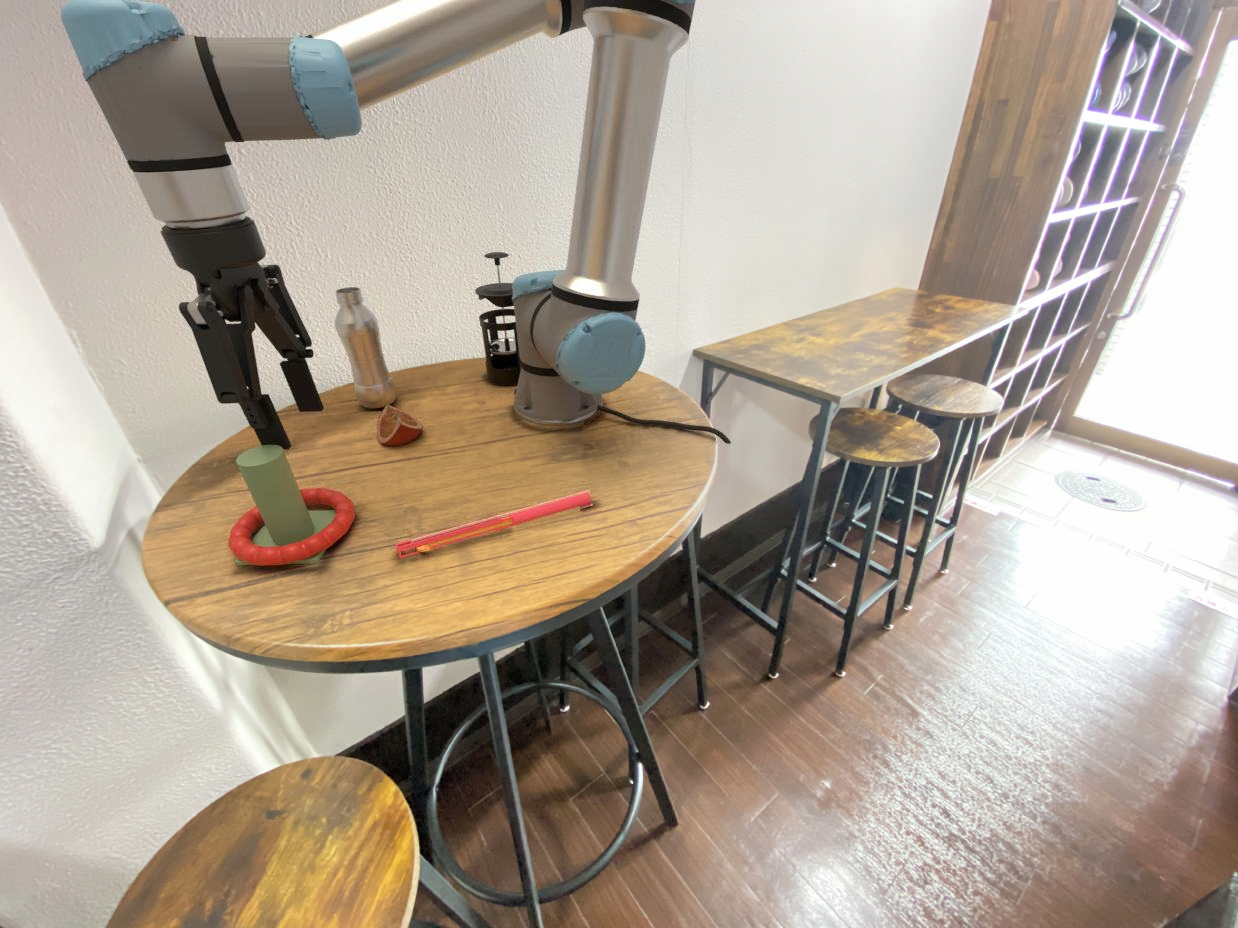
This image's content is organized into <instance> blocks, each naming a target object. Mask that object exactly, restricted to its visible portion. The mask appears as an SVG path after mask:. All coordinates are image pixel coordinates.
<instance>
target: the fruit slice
mask: <svg viewBox="0 0 1238 928" xmlns="http://www.w3.org/2000/svg"><path fill="white" fill-rule="evenodd" d="M376 427H377V428H376V436H377V440H378V442H379V443H380V444H382V445H385V446H389V447H397V446H402V445H405V444H408V443H410V442H411V441H413V440H415V439H416V438H417V437H418V435H419V434H420V433H421V432H422V430H423V428H424V426H423V424H422V423H421V422H420V421H419V420H418V419H417V418H416V417H414V416H413V415H412V414H410V413H408V412H405V411H404V410H402V409H400V408H397V407H395V406H393V405H391V404H390V405H388V404H387V405H386V406H385V407H383V410H382V411H381V412H380V414H379V416H378V420H377V426H376Z"/></svg>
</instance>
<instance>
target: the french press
mask: <svg viewBox="0 0 1238 928" xmlns="http://www.w3.org/2000/svg"><path fill="white" fill-rule="evenodd" d="M509 255H510V254H509V253H507V252H504V251H503V252H502V251H492V252H488V253H486V254H484V255H483V257H484V258H485V259H493V260H494V261H493V262H494V266H496V271H497V281H498V282H494V283H488V284H484V285H480V286H478V287H477V288H475V289H474V292H475V295H477V297H478V300H479V301H482V300H485V299H486V300H487V301H489V302H490V303H491V304H493V305H494V306H496V307H498V309H497V308H496V309H492V310H487V311H485V312H483V313H481V314H480V315H479V316H478V321H479V326H480V327H481V334H482V340H483V347H484V354H485V368H486V376H485V377H486V380H487V382H488V383H490V384H492V385H494V386H501V387H513V386H517V385H518V381H519V376H520V372H521V365H520V356H519V347H518V339H517V330H516V321H512V322H506V317H515V312H514V308H512V307H514V303H513V301H512V297H513V288H512V285H513V282H501V273H500V272H501V271H500V266H501V259H504V258H508V257H509ZM510 307H511V308H510ZM499 317H502V322H503V323H498V322H497V318H499ZM507 331H513V333H514V336H513V337H508V333H507ZM499 332H504V337H500V338H499Z"/></svg>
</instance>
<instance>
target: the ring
mask: <svg viewBox="0 0 1238 928" xmlns="http://www.w3.org/2000/svg"><path fill="white" fill-rule="evenodd" d="M299 490H300V492H301V495H302V497H303V500H304V502H305V505H325V506H329V507H332V509H333V510H336V515H335V517H334V519H333V520H332V522H331V523H330V524H329V525H327V526H326V527H325V528H324V529H322V530H321V531H320V532H319V533H317V534H314V535H312V536H310V537H308V538H306V539H304V540H302V541H299V542H295V543H292V544H288V545H284V546H275V547H262V546H259V545H255V544H253V543H252V541H251V540H252V535H253V533H254V532H255V530H256V529H257V528H258V527H259V526H260V525H262V524H263V523H264V521H263V519H262V517H261V514H260V512H259V510H258V508H257V506H256V505H255V506H254V507H252V508H251V509H249V510H248V511H246V512H244V513H243V514H242V515H241V516H240V518H238V520H237V521H236V522H235V524H234V525H233V526H232V527H231V529H230V532H229V538H228V548H229V550H230V551H231V552H232V553H233V555H235V556H236V558H238V559H239V560H241V561H245V562H248V563H251V564H255V565H254V566H260V567H261V566H262V567H263V566H281V565H288V564H287V563H291V562H295V561H298V560H302V559H305V558H308V557H311V556H313V555H315V554H317V553H318V552H320V551H322V550H324V549H326V548H327V549H328V548H330V547H332V546H333V545H335V543H336V542H338V541H339V540H340V539H341V538H342V537H343V536H344V535H346V534H347V533H348V531H349V529H350V527H351V526H352V524H353V522H354V520H355V518H356V514H355V506H354V502H353V500H352V499H350V497H348V496H347V495H345V494H344V493H343V492H341V491H339V490H334V489H330V488H325V487H309V488H301V489H300V488H299ZM327 549H326V550H327Z"/></svg>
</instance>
